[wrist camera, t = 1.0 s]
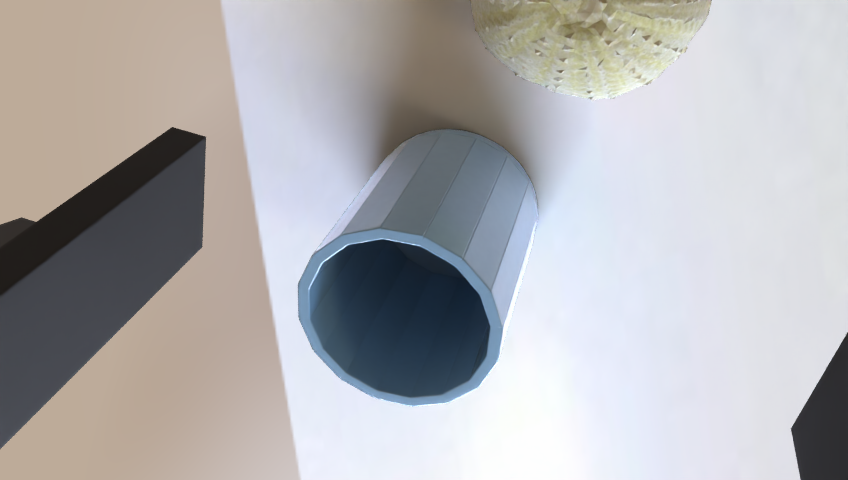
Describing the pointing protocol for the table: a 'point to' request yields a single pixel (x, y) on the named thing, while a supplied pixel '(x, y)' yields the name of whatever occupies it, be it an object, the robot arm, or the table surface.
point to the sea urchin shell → (588, 40)
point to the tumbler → (423, 270)
